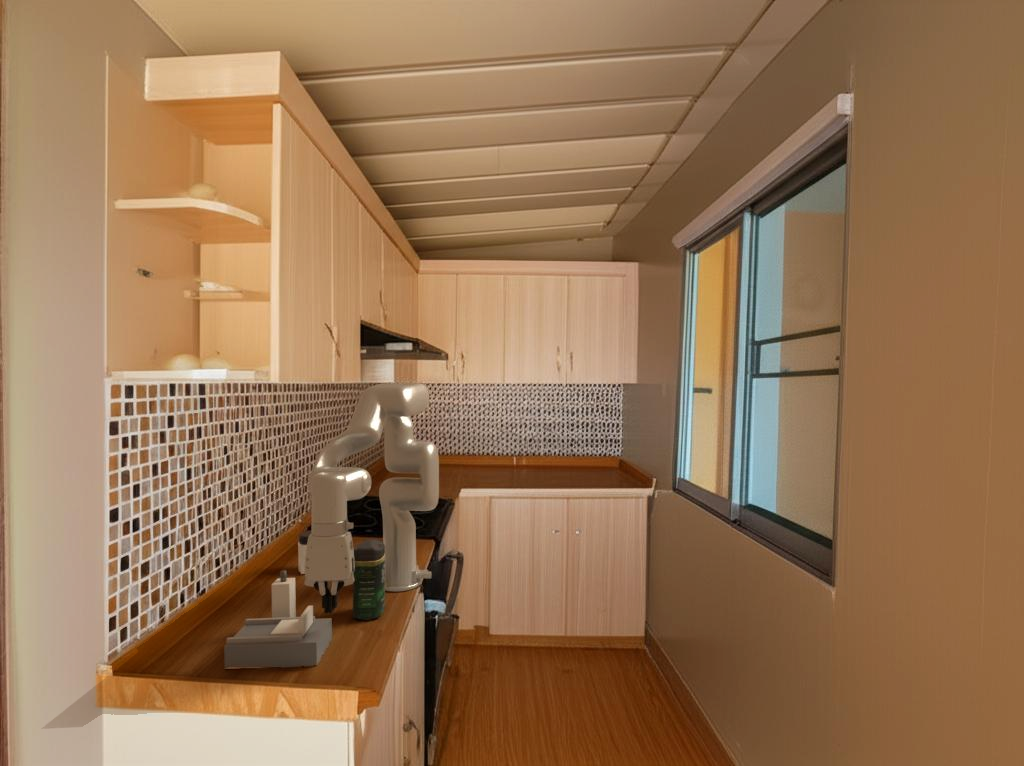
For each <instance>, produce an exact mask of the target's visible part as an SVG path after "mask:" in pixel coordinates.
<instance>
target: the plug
mask: <svg viewBox="0 0 1024 766" xmlns="http://www.w3.org/2000/svg"><path fill="white" fill-rule="evenodd" d="M287 572H288V571H287V570H285V569H283V570H280V573H279V575H280V576H279V577H278V578H277V579H275V581H273V582H272V583H271V585H270V586H271V618H283V617H297V609H296V608H297V606H296V605H297V604H296V603H297V602H296V601H297V600H296V595H297V594H296V577H288V575H287Z"/></svg>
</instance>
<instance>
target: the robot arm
mask: <svg viewBox="0 0 1024 766" xmlns="http://www.w3.org/2000/svg"><path fill="white" fill-rule="evenodd" d="M429 403H430V392H429V390H428V388H427V386H426V385H425V384H424V383H421V382H404V383H403V382H386V383H378V384H374V385H371V386H368V387H367V388H365V389H364V390H363V391H362V393H361V394H360V397H359V399H358V401H357V404H356V405H355V409H354V411H353V415H352V417H351V419H350V422H349V425H348V427H347V428H346V430H344V431H342V432H341V433H339V434H338V435H337V436H335V437H334V438H333V439H332V440H330V441H329V442H328V443H327V444H326V445H325V446H323V448H322V449H321V450H320V451H319V453H318V455H317V457H316V458H315V461H314V464H313V465H312V468H311V471H310V474H309V477H308V484H307V485H308V490H309V492H310V494H311V495H310V496H311V507H310V508H311V530H312V534H310V535H309V537H308V542H307V548H306V556H305V575H304V583H303V584H304V586H307V587H311V588H312V587H313V588H315V590H317V592H319V594H320V596H321V608H322V609H323V611H324V612H323V614H325V615H326V614H327V615H328V614H332V613H334V611H335V610H336V609H337V608H338V601H339V600H338V598H339V597H338V592H339V591H340V590H341V589H342V588H343V587H346V586H350V585H353V583H354V581H355V579H354V575H353V573H354V570H355V561H354V542H353V537H352V532H351V531H349V530H351V529H352V530H353V529H354V522H350V521H349V519H348V501H357V500H360V499H363V498H365V496H367V495H368V493H369V492H370V491H371V488H372V476H371V474H370V473H369V471H367V470H366V469H365V468H362V467H356V466H355V467H354V466H353V467H352V466H351V467H349V466H347V467H346V466H338V464H339V463H341V462H342V461H343V460H345V459H347V458H348V457H351V456H352V455H355V454H358V453H360V452H363V451H365V450H368V449H370V448H372V447H374V446H376V445H377V444H378V443H379V441H380V439H381V438H382V433H384V465H385V469H386V470H387V471H388V472H390V473H394V474H396V473H397V474H419V476H420V477H398V476H397V477H391V478H387V479H386V480H383V482H382V483H381V484H380V486H379V490H378V497H379V503H380V507H381V514H382V532H383V533H382V540H383V541H382V542H383V543H384V545H385V592H386V591H387V592H406V591H409V590H414V589H417V587H419V586H420V585H421V584H422V582H423V581H422V580H423V579H426V580H427V579H432V571H429V569H421V568H419V565H418V564H417V538H416V537H417V536H416V535H417V533H416V530H417V528H416V527H417V526H416V525H417V524H416V522H415V518H414V517H413V515H412V514H411V512H412V511H414V512H418V511H419V512H428V511H429V512H430V511H432V510H434V509H436V507H437V506H438V504H439V496H440V460H439V459H440V458H439V452H438V451H439V450H438V448H437V446H436V444H434V443H433V442H431V441H425V440H415V439H414V437H415V434H414V422H413V420H412V419H411V417H413V416H415V415H418V414H421V413H423V412H424V411H425V410H427V407H428V405H429ZM383 431H384V432H383ZM329 582H331V588H330V587H329Z"/></svg>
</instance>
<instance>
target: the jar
mask: <svg viewBox="0 0 1024 766" xmlns="http://www.w3.org/2000/svg"><path fill="white" fill-rule="evenodd" d="M310 534H312V529H311V530H305V531H302V532H300V533H299V534H298V542H297V550H298V551H297V552H298V553H297V555H298V558H297V560H298V563H297V564H298V571H299V573H300V574H301V575H302V574H305V556H306V548H307V542H308V537H309V535H310Z"/></svg>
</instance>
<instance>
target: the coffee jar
mask: <svg viewBox="0 0 1024 766" xmlns="http://www.w3.org/2000/svg"><path fill="white" fill-rule="evenodd" d="M353 549H354V561H355V570H354V573H353V575H354V579H355V581H354V583H353V584H352V617H353V618H354V619H358V620H361V621H370V620H372V619H376V618H380V617H381V616H382V615H383V613H384V612H385V609H386V591H385V545H384V543H383V541H381V540H380V539H364V540H363V541H361V542H359V543H358V544H356V546H355V547H353Z"/></svg>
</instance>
